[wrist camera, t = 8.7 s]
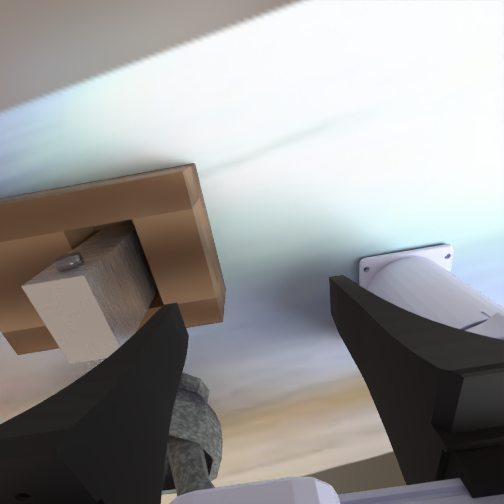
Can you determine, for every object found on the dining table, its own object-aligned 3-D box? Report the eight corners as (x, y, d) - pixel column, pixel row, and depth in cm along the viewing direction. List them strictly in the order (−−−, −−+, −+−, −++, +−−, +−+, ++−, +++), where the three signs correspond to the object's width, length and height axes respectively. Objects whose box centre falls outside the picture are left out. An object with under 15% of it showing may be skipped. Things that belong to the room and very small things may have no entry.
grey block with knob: (164, 284, 22) (127, 362, 14) (129, 290, 22) (73, 370, 14) (140, 215, 19) (79, 265, 12) (100, 222, 19) (15, 277, 12)
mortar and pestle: (184, 432, 32) (155, 587, 21) (118, 395, 29) (45, 555, 18) (251, 385, 29) (259, 537, 18) (187, 339, 26) (149, 488, 15)
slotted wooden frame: (225, 289, 24) (222, 321, 20) (55, 317, 24) (17, 355, 20) (194, 163, 19) (182, 171, 15) (-15, 201, 20) (-81, 219, 16)
